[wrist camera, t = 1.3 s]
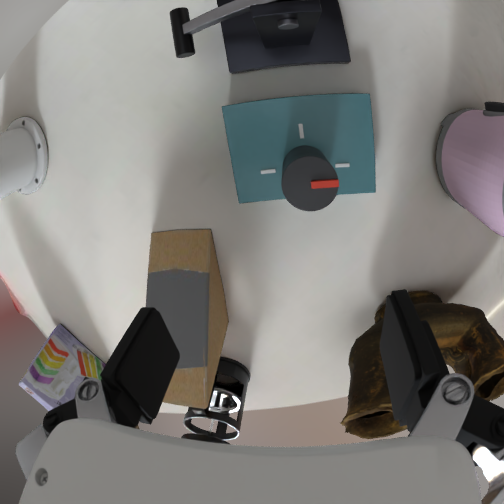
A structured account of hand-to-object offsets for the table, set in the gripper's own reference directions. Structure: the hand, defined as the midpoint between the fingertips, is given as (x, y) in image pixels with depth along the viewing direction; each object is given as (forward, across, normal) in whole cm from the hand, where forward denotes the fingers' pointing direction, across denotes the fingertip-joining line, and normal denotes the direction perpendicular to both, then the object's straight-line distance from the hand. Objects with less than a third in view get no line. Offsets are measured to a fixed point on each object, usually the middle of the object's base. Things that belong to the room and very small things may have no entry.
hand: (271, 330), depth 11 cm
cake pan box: (+21, +47, +30) cm, 59 cm away
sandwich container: (+22, +14, +12) cm, 29 cm away
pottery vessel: (+22, -16, +21) cm, 35 cm away
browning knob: (+19, -2, -2) cm, 19 cm away
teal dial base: (+22, -2, -4) cm, 22 cm away
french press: (+22, +15, +32) cm, 41 cm away
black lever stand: (+22, -3, -17) cm, 28 cm away
